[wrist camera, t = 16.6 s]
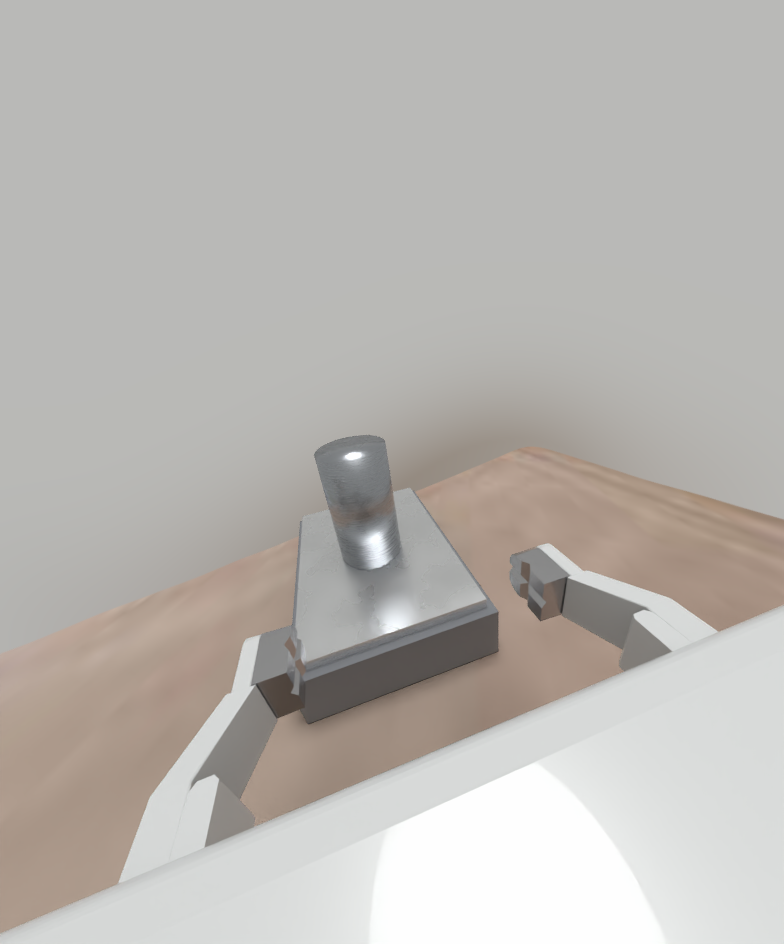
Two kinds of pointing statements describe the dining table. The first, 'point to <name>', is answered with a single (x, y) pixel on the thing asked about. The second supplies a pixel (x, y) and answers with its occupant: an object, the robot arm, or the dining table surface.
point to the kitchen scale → (385, 612)
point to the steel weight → (360, 499)
